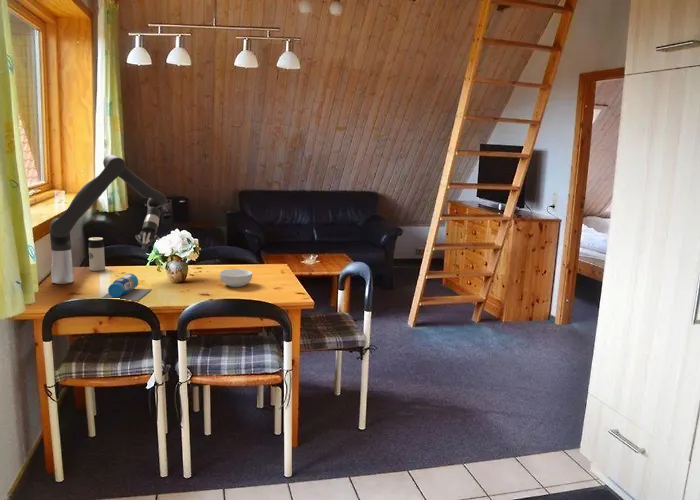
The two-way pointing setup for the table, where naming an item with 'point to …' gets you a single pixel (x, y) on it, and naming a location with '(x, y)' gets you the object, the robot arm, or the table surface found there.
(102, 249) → the travel mug
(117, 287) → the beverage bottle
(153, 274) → the table surface
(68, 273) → the robot arm
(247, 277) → the cereal bowl
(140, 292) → the mat
